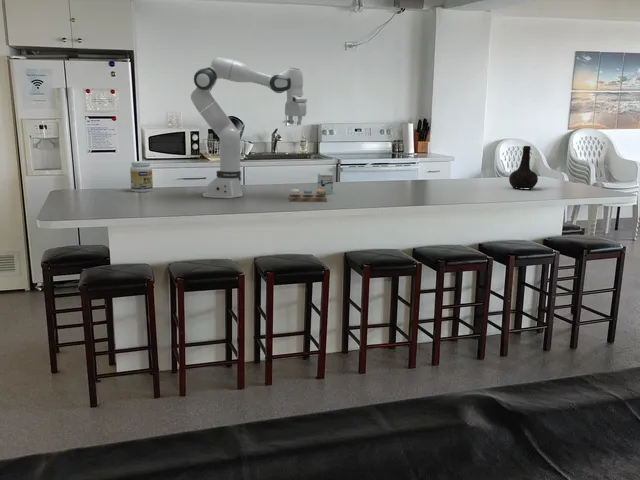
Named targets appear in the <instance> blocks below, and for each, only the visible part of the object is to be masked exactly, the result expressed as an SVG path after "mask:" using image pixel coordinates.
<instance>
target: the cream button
mask: <svg viewBox="0 0 640 480" xmlns="http://www.w3.org/2000/svg"><path fill="white" fill-rule="evenodd" d="M290 194H300V189H299V188H290Z"/></svg>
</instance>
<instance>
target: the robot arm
mask: <svg viewBox="0 0 640 480" xmlns="http://www.w3.org/2000/svg"><path fill="white" fill-rule="evenodd" d="M303 78H304V77H303V72H302V70H301V69H300V68H295V67H288V68H287V69H285V70H284V71H281V72H279V73H277V74H273V75H270V74H267V73H263V72H259V71H257V70H254V69H252V68H251V67H250V66H249V65H247V64H245V63H243V62H241V61H239V60H236V59H232V58H229V57H228V58H227V57H221V56H220V57H219V56H218V57H214V58H213V60H212V61H211V64H210V66H209V67H203V68H199V69H198V70H197V71H196V72H195V73H194V75H193V84H194V85H195V86H196V88H195V89H194V90H193V91H192V92H191V94H190V99H191V100H190V101H191V102H192V104H193V105H194V107H195V109H196V110H197V111H198V113H199V114H200V115H201V117H202V118H203V119H204V121H205V122H206V123H207V125H208V126H209V127H210V129H212V131H213V132H214V133H215V135H217V137H218V138H219V167H220V168H219V170H216V171H215V172H216V178H214V179H213V180H212V181H211V182H209V183H208V184H207V188H206V192H203V194H202V196H203V198H216V199H218V198H219V199H232V198H238V197H239V198H240V197H241V198H242V197H243V196H244V194H243V189H242V184H241V183H242V181H241V180H242V171H241V135H240V131H239V130H238V129H237V127H236V125H235V124H234V123H233V122H232V120H231V119H230V118H229V117H228V115H227V114H226V113H225V111H224V110H223V109H222V107H221V106H220V104H219V103H218V101H217V100H215V98H214V97H213V95H212V93H211V90H212V89H213V88H214V87H215V85H216V83H217V80H218V79H223V80H226V81H231V82H236V83H253V84H257V85H260V86H264V87H267V88H269V89H270V90H271V91H273V92H274V93H275V94H276V93H277V94H283V93H285V92H286V102H285V105H284V114H285V116H287V117H288V120H289V125H294V119H293V118H294V117H297V121H296V125H298V126H302V120H303V117H306V115H307V102H308V98H307V97H306V96H305V95H304V92H303V86H304V79H303Z"/></svg>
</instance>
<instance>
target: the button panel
mask: <svg viewBox="0 0 640 480" xmlns="http://www.w3.org/2000/svg"><path fill="white" fill-rule="evenodd" d="M288 199H289V202H299V203H300V202H301V203H303V202H308V203H309V202H311V203H314V202H316V203H317V202H321V203H322V202H323V203H324V202H326V203H327V201H328V199H327V196H326V194H305V193H303V194H300V193H298V194H293V193H290V194H289V195H288Z"/></svg>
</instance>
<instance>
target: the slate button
mask: <svg viewBox="0 0 640 480" xmlns="http://www.w3.org/2000/svg"><path fill="white" fill-rule="evenodd" d="M312 190H313V189H310V188H304V189H303V194H307V195H312V192H313V191H312Z"/></svg>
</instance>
